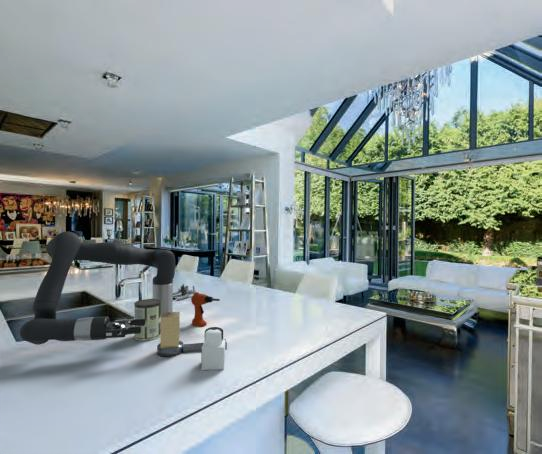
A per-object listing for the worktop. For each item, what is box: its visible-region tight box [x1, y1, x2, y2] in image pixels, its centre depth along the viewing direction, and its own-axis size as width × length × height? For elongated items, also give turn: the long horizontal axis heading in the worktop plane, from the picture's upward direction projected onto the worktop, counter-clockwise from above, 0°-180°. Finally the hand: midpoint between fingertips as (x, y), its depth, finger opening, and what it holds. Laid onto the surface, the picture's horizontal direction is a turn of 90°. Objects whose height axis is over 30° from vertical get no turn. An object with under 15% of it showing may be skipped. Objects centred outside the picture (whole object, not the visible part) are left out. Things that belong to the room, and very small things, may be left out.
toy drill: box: [190, 291, 221, 328], centre depth 139 cm, size 5×19×15 cm, turn 52°
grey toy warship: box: [173, 283, 197, 301], centre depth 191 cm, size 14×7×20 cm
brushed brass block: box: [160, 311, 181, 349], centre depth 111 cm, size 6×6×11 cm
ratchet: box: [156, 338, 228, 358], centre depth 113 cm, size 24×9×8 cm, turn 103°
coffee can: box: [133, 298, 161, 342], centre depth 126 cm, size 10×10×14 cm
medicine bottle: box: [200, 326, 226, 371], centre depth 101 cm, size 7×7×12 cm
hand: (143, 325), depth 109 cm, fingers open, 8 cm apart
